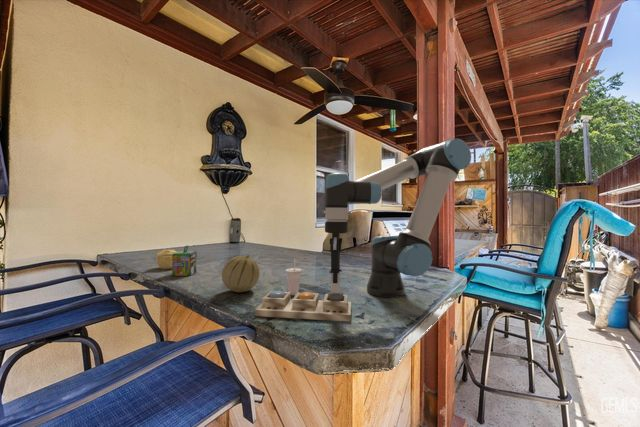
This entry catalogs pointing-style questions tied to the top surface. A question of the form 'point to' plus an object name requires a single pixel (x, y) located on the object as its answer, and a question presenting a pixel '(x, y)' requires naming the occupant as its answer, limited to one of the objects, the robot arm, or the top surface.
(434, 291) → the top surface
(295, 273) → the smoothie
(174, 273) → the chalk box
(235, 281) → the cantaloupe
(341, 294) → the charcoal button
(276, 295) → the blue button
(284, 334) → the top surface
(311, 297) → the orange button
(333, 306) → the button panel
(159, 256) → the sculpture
